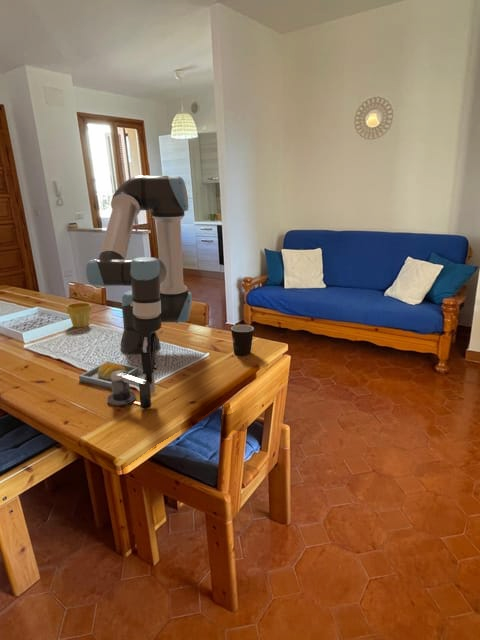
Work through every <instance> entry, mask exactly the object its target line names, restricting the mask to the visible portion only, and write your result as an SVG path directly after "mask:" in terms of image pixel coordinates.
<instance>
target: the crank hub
mask: <svg viewBox="0 0 480 640" xmlns="http://www.w3.org/2000/svg"><path fill="white" fill-rule="evenodd" d="M111 383H112V389H111V390H112V393H111V394H109V395H108V396H107V404H108V405H110V406H113V407H119V408H120V407H124V406H125V407H126V406H130V405H131V404H133V405H137V406H140V401H136V400H137V399H136V397H137V396H136V393H135V392H134V391H131V387H130V385H131V384H128V383H125V382H113V381H112V380H111Z"/></svg>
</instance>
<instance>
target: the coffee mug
mask: <svg viewBox="0 0 480 640" xmlns="http://www.w3.org/2000/svg"><path fill="white" fill-rule="evenodd" d="M230 330H231V339H232V346H233V354H234V355H235V356H239V357H240V356H241V357H245V356H250V355H251V352H252V344H253V338H254V330H255V328H254V326H252V325H247V324H238V325H237V324H236V325H234V326H232V327H231V328H230Z"/></svg>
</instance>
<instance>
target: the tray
mask: <svg viewBox="0 0 480 640" xmlns="http://www.w3.org/2000/svg"><path fill="white" fill-rule="evenodd" d="M106 363H115V364H119V365H121V366H123V367H124V368H125V369H126V371H128V373H129V375H131V376H134V377H136V375H138V374H139V373H140V367H138V366H134V365H128V364H123V363H119V362H116V361H110V360H107V361H105V362H102V363H101V364H99V365H97V366H94V367H93V368H92V369H89V370H87V371H85V372H83V373H82V374H79V375H78V381H79V382H80V383H85V384H88V385H94V386H97V387H102V388H106V389H110V390H112V383H111V380H105V379H102V378H100V377H99V376H98V369H99V368H100V366H102V365H103V364H106Z"/></svg>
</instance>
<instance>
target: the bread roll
mask: <svg viewBox="0 0 480 640" xmlns="http://www.w3.org/2000/svg"><path fill="white" fill-rule="evenodd" d="M115 363H116V362H115ZM115 363H106V364H103V363H102V364H103V365H102V366H100V368H99V369H98V376H99V377H100V378H102V379H105V380H111V373H113V372H115V371H119V370H125V371H126V369H125V368H124V367H123V366H121V365H119V364H115Z"/></svg>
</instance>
